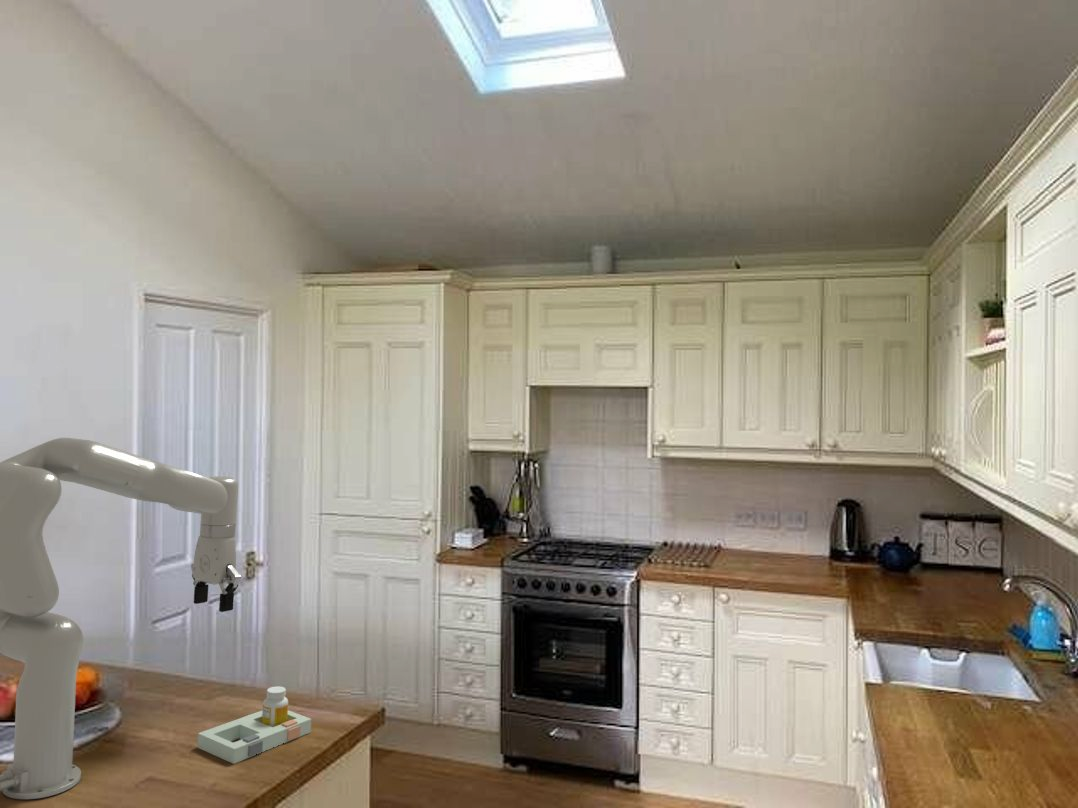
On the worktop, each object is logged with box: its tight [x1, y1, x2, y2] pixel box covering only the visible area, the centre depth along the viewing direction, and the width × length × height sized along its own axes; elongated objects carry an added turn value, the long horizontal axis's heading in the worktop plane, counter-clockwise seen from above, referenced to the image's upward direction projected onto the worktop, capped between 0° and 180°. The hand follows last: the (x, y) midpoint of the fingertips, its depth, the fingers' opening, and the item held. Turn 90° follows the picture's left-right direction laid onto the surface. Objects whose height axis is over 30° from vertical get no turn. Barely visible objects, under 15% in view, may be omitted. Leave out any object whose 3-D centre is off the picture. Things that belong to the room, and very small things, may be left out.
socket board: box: [196, 709, 312, 764], centre depth 176 cm, size 20×12×3 cm, turn 147°
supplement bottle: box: [261, 685, 289, 727], centre depth 180 cm, size 5×5×10 cm
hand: (213, 606), depth 185 cm, fingers open, 9 cm apart
